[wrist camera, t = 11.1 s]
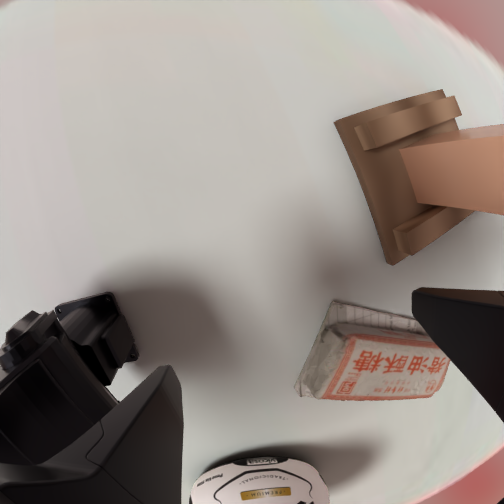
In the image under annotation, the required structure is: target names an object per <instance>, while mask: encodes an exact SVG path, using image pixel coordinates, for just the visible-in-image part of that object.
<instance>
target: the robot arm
mask: <svg viewBox="0 0 504 504" xmlns="http://www.w3.org/2000/svg"><path fill="white" fill-rule="evenodd" d="M107 297H109V298H110V301H109V300H107ZM59 309H60V310H61V312H60V310H59ZM55 312H56V313H55ZM55 312H54V310H52V311H51V312H49V313H47V312H45V313H43V314H38V313H37V312H35V311H33V310H32V311H31V312H29V313H28V314H27V315H25V316H24V317H23V318H21V319H20V320H19V321H18V322H16V323H15V324H14V325H13V326H12V327H11V328H10V329H9V330H8V331H7V332H6V340H5V343H4V344H3V345H2V347H1V348H0V365H1V366H0V504H181V482H182V450H183V429H184V422H183V407H182V390H181V385H180V382H179V380H178V378H177V376H176V374H175V372H174V370H173V368H172V366H171V365H165V366H160V367H158V368H157V369H156V370H155V371H154V372H153V373H152V374H151V375H149V376H148V377H147V378H146V379H145V380H144V381H143V382H142V383H141V384H140V385H139V386H137V387H136V388H135V389H134V390H133V391H132V392H131V393H130V394H129V395H128V396H126V397H125V398H124V399H123V400H122V401H121V402H120V401H117V399H116V398H115V397H114V396H113V395H112V394H111V393H110V391H109V390H108V389H107V388H106V387H105V386H109V385H111V383H112V381H113V379H114V377H115V375H116V373H117V370H118V369H120V368H122V366H123V364H124V363H125V362H132V361H136V360H137V359H138V357H139V353H138V351H137V349H136V347H135V344H134V338H133V336H132V334H131V331H130V329H129V327H128V324H127V322H126V320H125V317H124V316H123V315H122V314H121V312H120V310H119V307H118V305H117V302H116V300H115V297H114V295H113V294H112V293H110V292H105V293H102V294H98V295H94V296H90V297H86V298H83V299H79V300H75V301H71V302H67V303H63V304H60V305H58V306H56V308H55ZM412 314H413V316H414V317H415V319H416V320H417V321H418V322H419V324H420V325H421V326H422V328H423V329H424V330H425V331H426V333H427V334H428V335H429V337H430V338H431V339H432V340H433V342H434V343H435V344H436V345H437V346H438V347H439V348H440V349H441V350H442V351H443V352H444V354H445V355H446V356H447V357H448V358H449V359H450V360H451V361H452V362H453V363H454V364H455V366H456V367H457V368H458V369H459V370H460V371H461V372H462V373H463V374H464V376H465V377H466V378H467V379H468V380H469V381H470V382H471V384H472V385H473V386H474V387H475V388H476V389H477V390H478V392H479V393H480V394H481V395H482V396H483V398H484V399H485V400H486V401H487V402H488V404H489V405H490V406H491V407H492V408H493V410H494V411H496V414H497V415H498V416H499V417H500V419H501V420H502V421H503V422H504V291H490V290H465V289H444V288H425V287H421V288H418V289H416V290H414V291H413V292H412ZM57 317H58V319H59V321H60V322H59V321H58V319H57ZM131 354H134V355H135V356H132V355H131ZM497 504H504V498H503V499H502V500H500V501H499V502H498V503H497Z"/></svg>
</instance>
